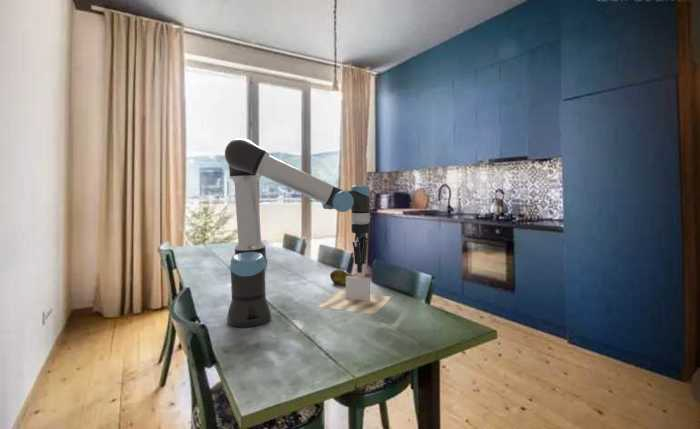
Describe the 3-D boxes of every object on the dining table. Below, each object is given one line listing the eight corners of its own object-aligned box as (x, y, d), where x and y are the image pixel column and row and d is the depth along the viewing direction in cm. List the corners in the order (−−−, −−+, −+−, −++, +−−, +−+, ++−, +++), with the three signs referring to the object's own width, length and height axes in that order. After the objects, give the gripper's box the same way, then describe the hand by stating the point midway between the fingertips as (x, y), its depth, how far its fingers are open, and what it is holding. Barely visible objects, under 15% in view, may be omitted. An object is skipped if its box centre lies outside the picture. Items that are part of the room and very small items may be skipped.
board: (315, 310, 138) (315, 306, 137) (338, 294, 158) (338, 290, 158) (375, 318, 129) (375, 314, 129) (391, 300, 149) (391, 296, 149)
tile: (345, 298, 147) (345, 276, 146) (347, 297, 149) (347, 275, 148) (368, 301, 143) (368, 279, 143) (370, 299, 145) (370, 278, 144)
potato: (352, 291, 162) (352, 273, 162) (327, 287, 168) (327, 270, 167) (360, 286, 170) (360, 269, 169) (336, 283, 175) (336, 267, 175)
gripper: (364, 225, 140) (364, 284, 141) (374, 221, 152) (373, 276, 154) (346, 224, 142) (346, 282, 144) (357, 221, 154) (357, 275, 156)
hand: (360, 279), depth 149 cm, fingers closed
